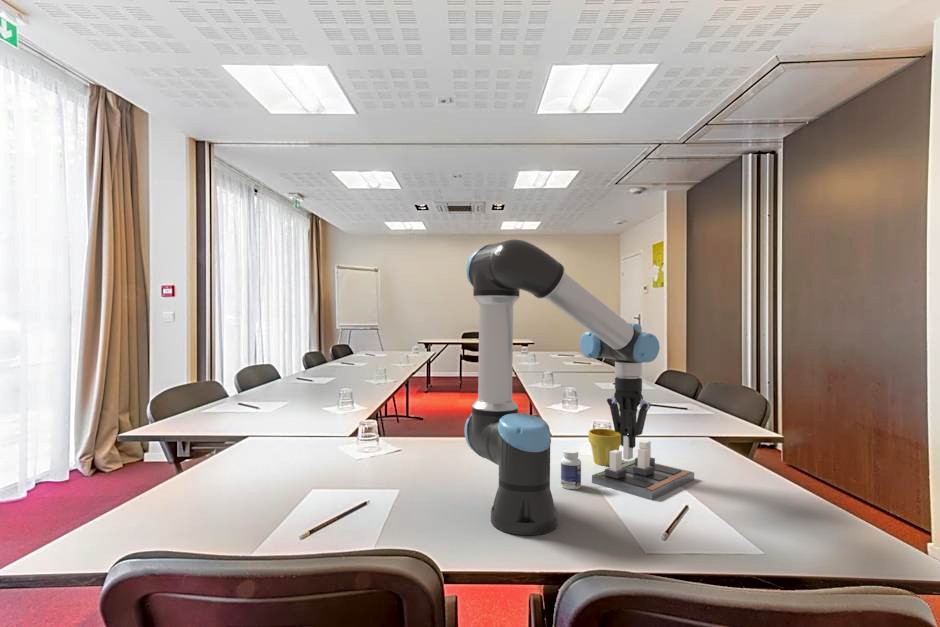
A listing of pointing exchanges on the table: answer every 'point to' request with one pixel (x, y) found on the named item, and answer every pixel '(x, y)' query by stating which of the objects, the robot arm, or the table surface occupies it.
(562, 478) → the pill bottle
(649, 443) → the breaker right
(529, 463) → the robot arm
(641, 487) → the panel
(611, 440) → the plant pot
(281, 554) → the table surface
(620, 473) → the block
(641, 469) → the breaker mid
